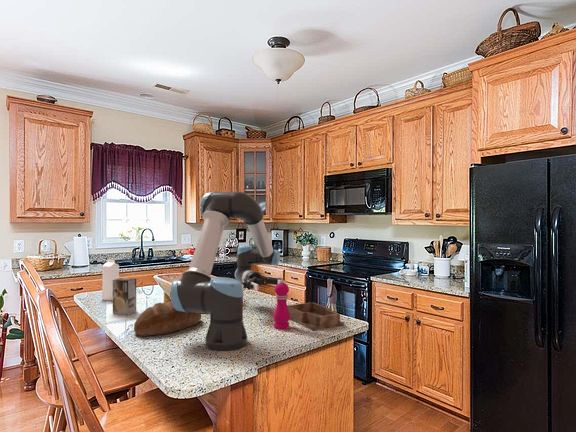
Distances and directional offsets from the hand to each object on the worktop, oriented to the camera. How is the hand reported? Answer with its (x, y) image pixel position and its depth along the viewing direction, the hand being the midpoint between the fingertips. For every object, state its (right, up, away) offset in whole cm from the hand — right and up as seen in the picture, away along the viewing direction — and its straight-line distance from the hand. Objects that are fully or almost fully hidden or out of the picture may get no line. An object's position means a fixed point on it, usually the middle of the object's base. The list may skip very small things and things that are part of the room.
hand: (271, 286), depth 162 cm
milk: (-92, -15, +42) cm, 102 cm away
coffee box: (-71, -15, +14) cm, 74 cm away
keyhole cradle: (+18, -15, +1) cm, 24 cm away
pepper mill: (+5, -16, -9) cm, 19 cm away
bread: (-42, -16, -10) cm, 46 cm away
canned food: (-54, -16, +29) cm, 63 cm away
